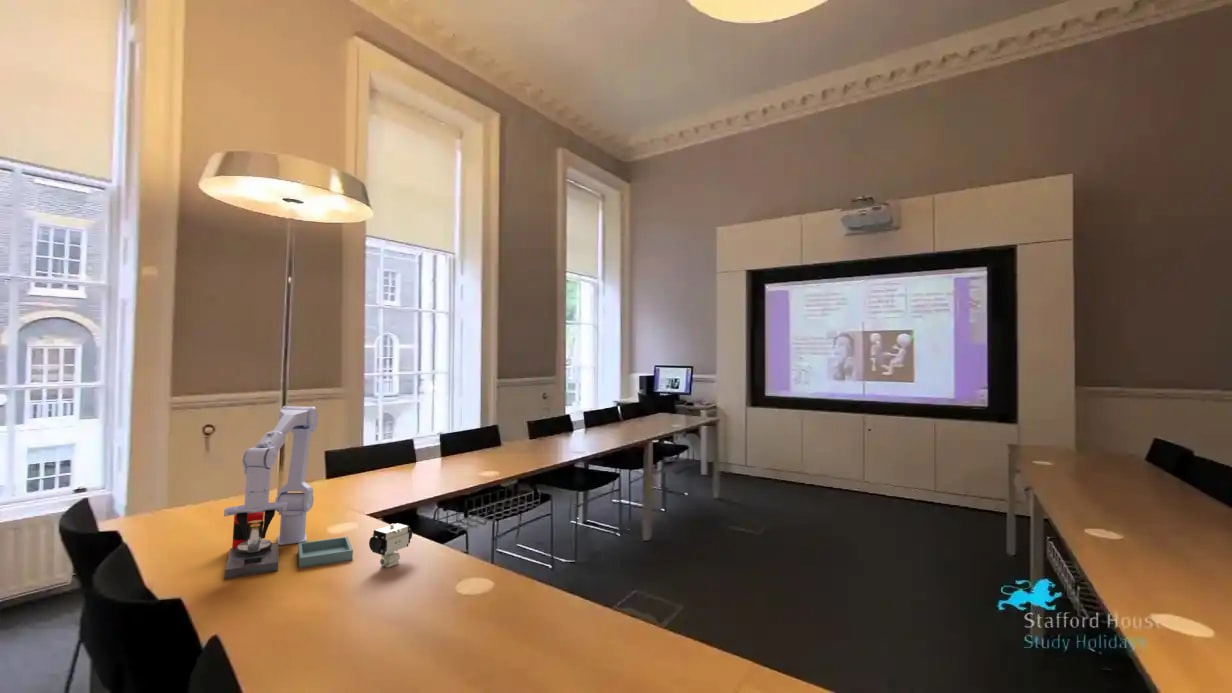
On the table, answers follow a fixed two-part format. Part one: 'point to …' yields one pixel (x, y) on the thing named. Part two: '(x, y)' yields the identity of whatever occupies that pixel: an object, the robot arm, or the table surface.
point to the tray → (324, 552)
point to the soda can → (238, 532)
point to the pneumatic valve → (390, 542)
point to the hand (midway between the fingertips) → (254, 538)
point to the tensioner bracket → (252, 560)
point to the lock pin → (254, 535)
